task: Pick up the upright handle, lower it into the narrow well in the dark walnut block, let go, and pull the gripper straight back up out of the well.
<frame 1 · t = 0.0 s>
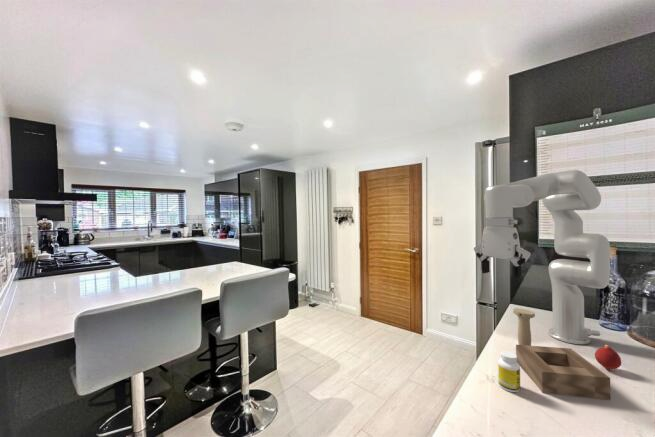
hand: (500, 275, 86), 31 cm above the countertop, tool pointing down, fingers open, 9 cm apart
onion: (608, 370, 85), on the countertop
supplement bottle: (509, 387, 78), on the countertop
handle: (524, 352, 97), on the countertop
well block: (557, 378, 81), on the countertop
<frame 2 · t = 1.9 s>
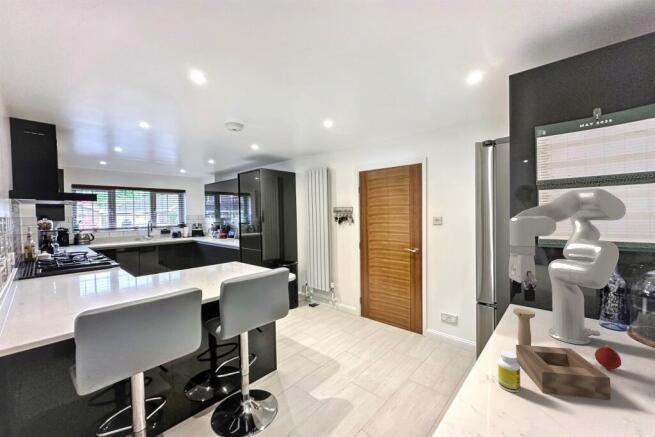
hand: (522, 296, 97), 20 cm above the countertop, tool pointing down, fingers open, 9 cm apart
nothing on the countertop moved.
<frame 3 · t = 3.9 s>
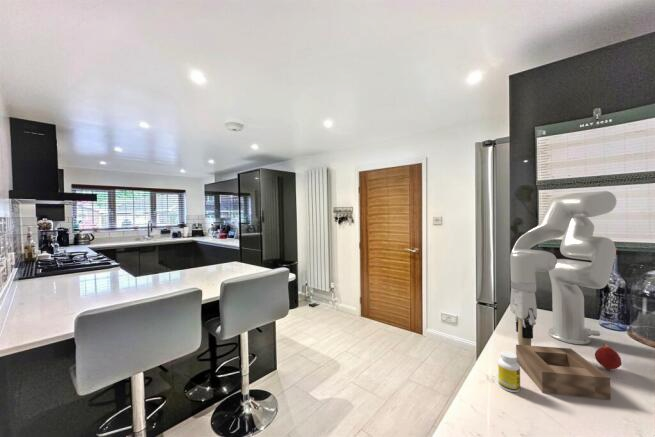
hand: (524, 334, 97), 6 cm above the countertop, tool pointing down, fingers closed on handle, 3 cm apart
handle: (524, 352, 97), on the countertop, touching gripper
everything else where it was.
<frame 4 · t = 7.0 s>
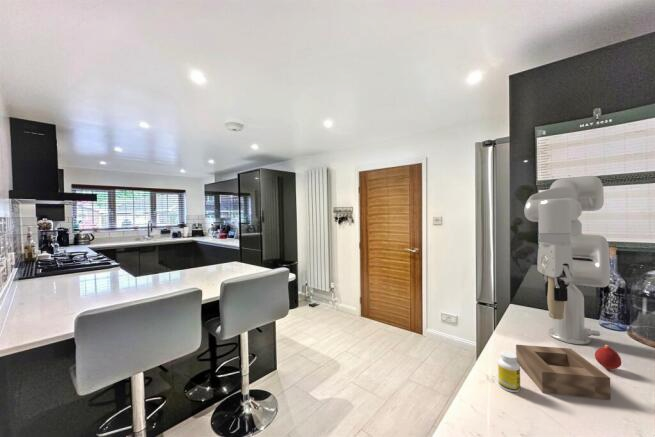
hand: (556, 297, 81), 25 cm above the countertop, tool pointing down, fingers closed on handle, 3 cm apart
handle: (556, 318, 81), point 19 cm above the countertop, touching gripper
everything else where it was.
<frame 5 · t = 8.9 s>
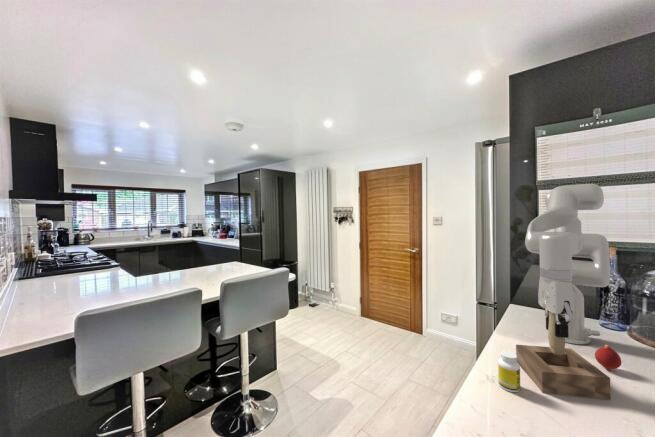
hand: (556, 332, 81), 14 cm above the countertop, tool pointing down, fingers closed on handle, 3 cm apart
handle: (557, 353, 81), point 8 cm above the countertop, touching gripper
everything else where it was.
when the fingers open (9 cm above the countertop, at t = 10.3 s): handle drops 2 cm, resting in well block.
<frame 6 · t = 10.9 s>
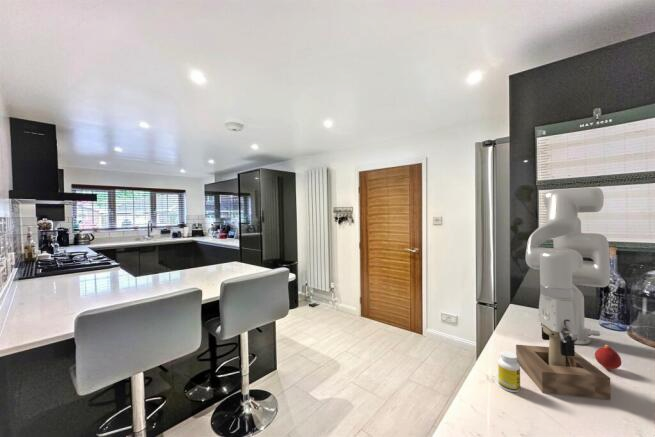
hand: (557, 347, 81), 10 cm above the countertop, tool pointing down, fingers open, 9 cm apart
handle: (557, 378, 82), resting in well block
everything else where it was.
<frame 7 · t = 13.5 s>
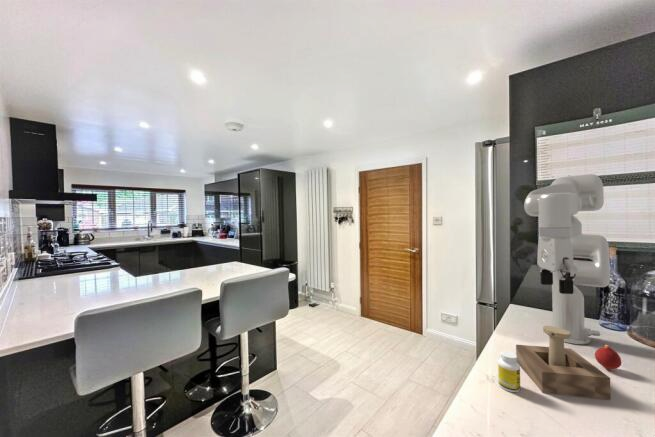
hand: (555, 288, 81), 28 cm above the countertop, tool pointing down, fingers open, 9 cm apart
nothing on the countertop moved.
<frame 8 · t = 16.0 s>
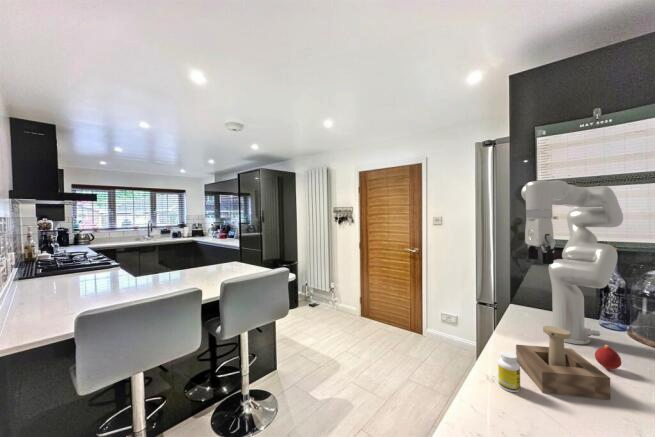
hand: (540, 261, 97), 33 cm above the countertop, tool pointing down, fingers open, 9 cm apart
nothing on the countertop moved.
at the end: handle 0.3 cm off-centre on the well block, point 0.0 cm above the well block's base; handle tilted 0°; the gripper is holding nothing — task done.
